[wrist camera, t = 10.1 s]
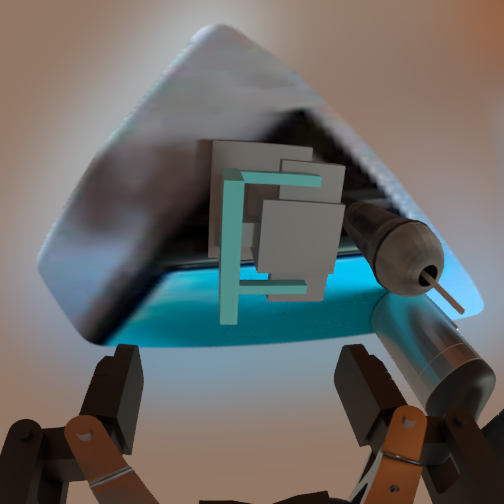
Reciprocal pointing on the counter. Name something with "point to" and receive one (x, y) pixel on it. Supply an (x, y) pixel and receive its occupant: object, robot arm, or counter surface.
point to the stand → (282, 214)
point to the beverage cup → (397, 250)
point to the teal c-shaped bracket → (233, 233)
